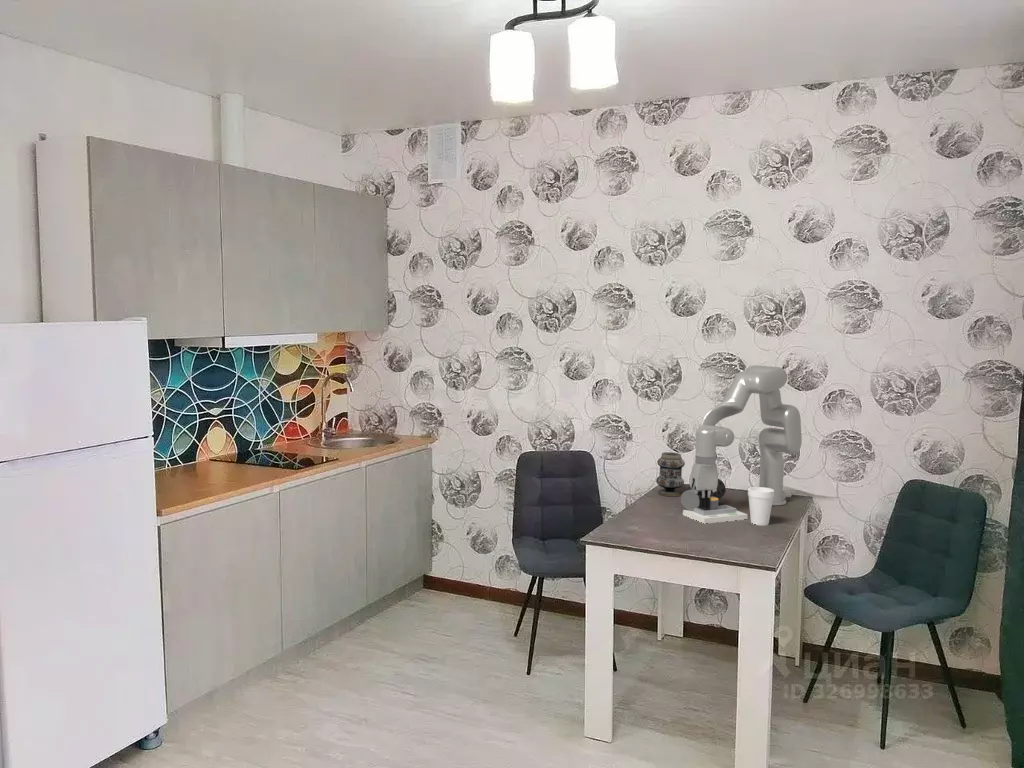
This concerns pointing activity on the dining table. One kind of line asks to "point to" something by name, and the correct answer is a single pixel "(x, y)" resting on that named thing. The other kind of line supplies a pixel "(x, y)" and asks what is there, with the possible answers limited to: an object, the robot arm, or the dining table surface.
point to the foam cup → (760, 504)
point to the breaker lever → (712, 503)
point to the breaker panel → (715, 514)
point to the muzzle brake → (692, 499)
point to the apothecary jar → (670, 473)
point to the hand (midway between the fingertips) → (703, 507)
